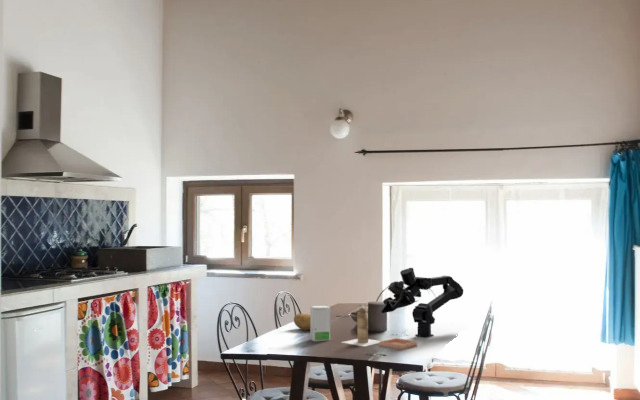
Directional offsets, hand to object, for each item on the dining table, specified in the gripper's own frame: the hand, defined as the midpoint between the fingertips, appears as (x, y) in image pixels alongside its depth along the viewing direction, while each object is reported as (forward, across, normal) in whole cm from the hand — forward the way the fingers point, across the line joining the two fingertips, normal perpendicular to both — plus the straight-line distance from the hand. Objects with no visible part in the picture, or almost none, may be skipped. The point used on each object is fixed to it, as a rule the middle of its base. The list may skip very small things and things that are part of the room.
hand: (387, 310), depth 292 cm
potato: (+11, -52, -8) cm, 54 cm away
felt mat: (+14, -11, +7) cm, 18 cm away
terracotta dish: (+8, +4, +15) cm, 17 cm away
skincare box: (+22, -26, -3) cm, 35 cm away
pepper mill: (+13, -11, +6) cm, 18 cm away
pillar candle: (-12, -33, +11) cm, 37 cm away
